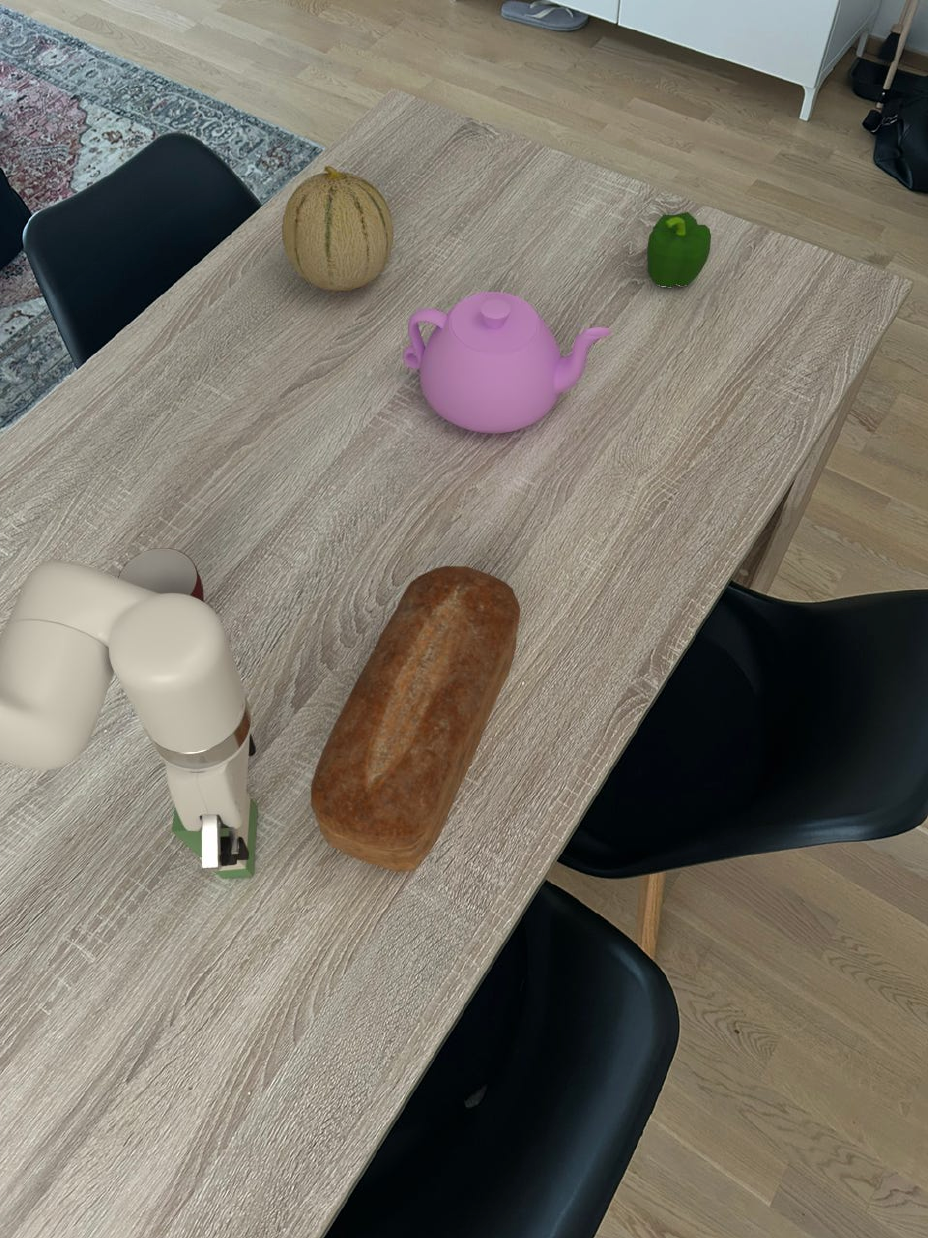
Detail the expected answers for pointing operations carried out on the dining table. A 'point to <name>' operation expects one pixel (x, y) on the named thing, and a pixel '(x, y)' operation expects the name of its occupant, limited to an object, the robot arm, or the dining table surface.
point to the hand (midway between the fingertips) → (234, 803)
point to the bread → (416, 718)
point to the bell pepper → (677, 250)
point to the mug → (164, 572)
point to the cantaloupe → (337, 231)
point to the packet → (245, 831)
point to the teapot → (493, 362)
